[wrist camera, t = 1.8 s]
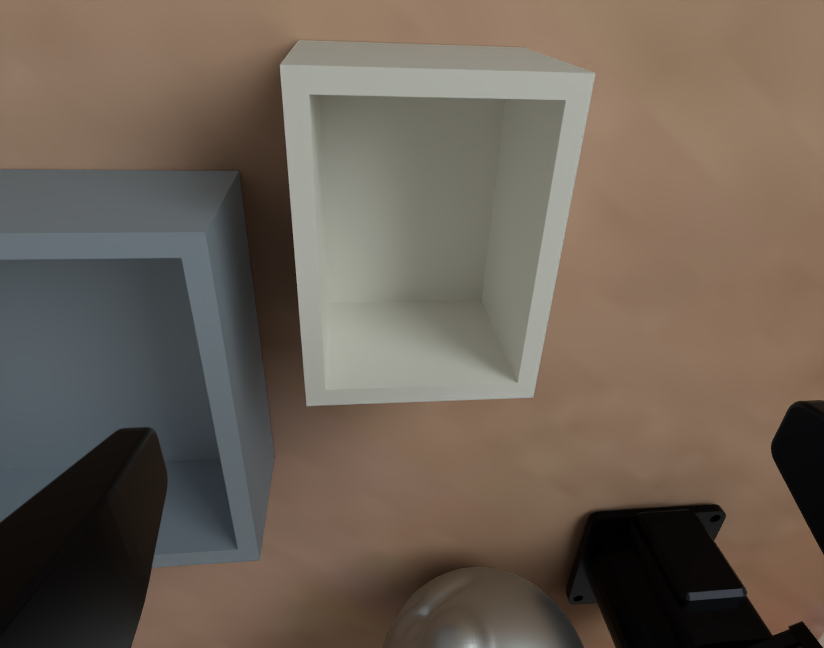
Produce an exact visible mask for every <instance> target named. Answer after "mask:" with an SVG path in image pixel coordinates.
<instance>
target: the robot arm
mask: <svg viewBox="0 0 824 648" xmlns="http://www.w3.org/2000/svg"><path fill="white" fill-rule="evenodd" d="M771 453H772V457H773V459H774V461H775V463H776V465H777V467H778V469H779V471H780V473H781V475H782V477H783V479H784V481H785V483H786V484H787V486H788V488H789V490H790V492H791V494H792V496H793V498H794V500H795V502H796V504H797V505H798V507H799V509H800V511H801V513H802V515H803V517H804V519H805V521H806V523H807V525H808V526H809V528H810V530H811V532H812V534H813V536H814V538H815V540H816V542H817V543H818V545H819V547H820V549H821V551H822V552H823V554H824V401H822V400H812V401H798V402H795V403H794V404H792V405H791V406H790V407H789V409H788V410H787V412H786V414H785V416H784V418H783V420H782V422H781V424H780V426H779V428H778V430H777V432H776V434H775V436H774V438H773V441H772V444H771ZM167 486H168V475H167V469H166V465H165V462H164V458H163V454H162V450H161V447H160V443H159V439H158V436H157V433H156V432H155V430H154V429H153V428H150V427H131V428H121V429H118V430H117V431H115V432H114V433H112V434H111V435H110V436H109V437H107V438H106V439H105V440H104V441H102V442H101V443H100V444H98V445H97V446H96V447H95V448H93V449H92V450H91V451H90V452H88V453H87V454H86V455H85V456H83V457H82V458H81V459H79V460H78V461H77V462H76V463H74V464H73V465H72V466H71V467H69V468H68V469H67V470H66V471H64V472H63V473H62V474H60V475H59V476H58V477H57V478H55V479H54V480H53V481H52V482H50V483H49V484H48V485H47V486H45V487H44V488H43V489H41V490H40V491H39V492H38V493H36V494H35V495H34V496H33V497H31V498H30V499H29V500H28V501H26V502H25V503H24V504H22V505H21V506H20V507H19V508H17V509H16V510H15V511H14V512H12V513H11V514H10V515H9V516H7V517H6V518H5V519H3V520H2V521H1V522H0V648H131V645H132V642H133V639H134V636H135V633H136V630H137V626H138V623H139V620H140V616H141V613H142V609H143V606H144V602H145V598H146V593H147V589H148V584H149V579H150V574H151V569H152V564H153V559H154V554H155V549H156V544H157V539H158V534H159V529H160V524H161V518H162V513H163V508H164V503H165V498H166V493H167ZM725 517H726V514H725V512H724V511H723V510H722V508H721V507H720V506H719V505H716V504H711V505H695V506H679V507H663V508H647V509H631V510H615V511H600V512H596V513H594V514H592V515H591V516H590V517H589V518H588V520H587V524H586V527H585V530H584V534H583V537H582V540H581V544H580V547H579V550H578V554H577V557H576V560H575V564H574V567H573V570H572V574H571V577H570V580H569V584H568V587H567V590H566V595H567V598H568V601H569V602H570V603H571V604H588V603H598V606H599V608H600V610H601V613H602V615H603V618H604V620H605V623H606V625H607V628H608V630H609V632H610V635H611V637H612V640H613V642H614V645H615V647H616V648H823V647H822V646H821V645H820V643H819V642H818V641H817V639H816V638H815V637H814V636H813V634H812V633H811V632H810V630H809V629H808V628H807V627H806V625H805V624H804V623H803V622H802V621H801V622H799V623H796V624H794V625H791V626H788V627H789V630H786V631H784V632H781V633H779V634H776V635H772V634H771V632H770V631H769V629H768V628H767V626H766V625H765V623H764V622H763V620H762V619H761V617H760V616H759V614H758V613H757V611H756V609H755V608H754V606H753V605H752V603H751V602H750V600H749V599H748V597H747V596H746V594H747V591H746V588H745V587H744V585H743V584H742V582H741V581H740V579H739V578H738V576H737V575H736V573H735V572H734V570H733V569H732V567H731V566H730V564H729V563H728V561H727V560H726V558H725V557H724V555H723V554H722V552H721V551H720V549H719V548H718V546H717V545H716V543H715V542H714V540H715V538H716V536H717V534H718V532H719V530H720V528H721V526H722V524H723V522H724V520H725Z"/></svg>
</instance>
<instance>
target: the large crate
mask: <svg viewBox="0 0 824 648" xmlns="http://www.w3.org/2000/svg"><path fill="white" fill-rule="evenodd" d="M131 427H150V428H153V429H154V430H155V432H156V433H157V436H158V439H159V443H160V447H161V450H162V454H163V458H164V462H165V465H166V469H167V475H168V486H167V493H166V498H165V503H164V508H163V513H162V518H161V524H160V529H159V534H158V539H157V544H156V549H155V554H154V559H153V564H152V568H154V567H168V566H183V565H198V564H213V563H228V562H243V561H258V560H260V554H261V547H262V540H263V533H264V526H265V520H266V513H267V506H268V499H269V492H270V485H271V478H272V471H273V464H274V457H275V456H274V448H273V440H272V432H271V424H270V416H269V408H268V400H267V392H266V384H265V376H264V368H263V360H262V352H261V344H260V336H259V328H258V320H257V311H256V303H255V295H254V287H253V279H252V271H251V263H250V255H249V247H248V239H247V231H246V223H245V215H244V207H243V199H242V191H241V183H240V175H239V171H176V170H34V169H0V522H1V521H2V520H3V519H5V518H6V517H7V516H9V515H10V514H11V513H12V512H14V511H15V510H16V509H17V508H19V507H20V506H21V505H22V504H24V503H25V502H26V501H28V500H29V499H30V498H31V497H33V496H34V495H35V494H36V493H38V492H39V491H40V490H41V489H43V488H44V487H45V486H47V485H48V484H49V483H50V482H52V481H53V480H54V479H55V478H57V477H58V476H59V475H60V474H62V473H63V472H64V471H66V470H67V469H68V468H69V467H71V466H72V465H73V464H74V463H76V462H77V461H78V460H79V459H81V458H82V457H83V456H85V455H86V454H87V453H88V452H90V451H91V450H92V449H93V448H95V447H96V446H97V445H98V444H100V443H101V442H102V441H104V440H105V439H106V438H107V437H109V436H110V435H111V434H112V433H114V432H115V431H117V430H118V429H121V428H131Z"/></svg>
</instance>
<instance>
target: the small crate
mask: <svg viewBox="0 0 824 648" xmlns="http://www.w3.org/2000/svg"><path fill="white" fill-rule="evenodd" d="M280 75H281V87H282V100H283V113H284V126H285V138H286V151H287V164H288V177H289V189H290V202H291V215H292V228H293V240H294V253H295V266H296V279H297V291H298V304H299V317H300V330H301V342H302V355H303V368H304V381H305V393H306V406H321V405H347V404H373V403H400V402H426V401H452V400H478V399H504V398H530V397H533V396H534V391H535V386H536V381H537V375H538V370H539V365H540V360H541V355H542V349H543V344H544V339H545V334H546V328H547V323H548V318H549V313H550V308H551V302H552V297H553V292H554V287H555V282H556V276H557V271H558V266H559V261H560V256H561V250H562V245H563V240H564V235H565V230H566V224H567V219H568V214H569V209H570V203H571V198H572V193H573V188H574V183H575V177H576V172H577V167H578V162H579V157H580V151H581V146H582V141H583V136H584V131H585V125H586V120H587V115H588V110H589V105H590V99H591V94H592V89H593V84H594V78H595V73H593V72H591V71H588V70H585V69H582V68H580V67H577V66H574V65H571V64H569V63H566V62H563V61H560V60H558V59H555V58H552V57H549V56H547V55H544V54H541V53H538V52H536V51H533V50H530V49H527V48H525V47H495V46H464V45H433V44H402V43H371V42H340V41H310V40H298V41H297V43H296V44H295V45H294V47H293V48H292V49H291V50H290V52H289V53H288V54H287V56H286V57H285V58H284V60H283V61H282V62H281V64H280Z"/></svg>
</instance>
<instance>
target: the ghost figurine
mask: <svg viewBox="0 0 824 648" xmlns="http://www.w3.org/2000/svg"><path fill="white" fill-rule="evenodd" d="M382 648H584V647H583V644H582V642H581V640H580V638H579V636H578V634H577V632H576V630H575V628H574V627H573V625H572V623H571V622H570V620H569V619H568V617H567V616H566V615H565V613H564V612H563V611H562V609H561V608H560V607H559V606H558V605H557V604H556V603H555V602H554V601H553V600H552V599H551V598H550V597H549V596H548V595H547V594H546V593H545V592H544V591H542V590H541V589H540V588H538V587H537V586H536V585H534V584H533V583H531V582H529V581H528V580H526V579H524V578H522V577H520V576H518V575H516V574H513V573H511V572H508V571H504V570H500V569H496V568H489V567H467V568H461V569H456V570H453V571H450V572H447V573H444V574H442V575H440V576H438V577H436V578H434V579H432V580H430V581H429V582H427V583H426V584H425V585H423V586H422V587H421V588H419V589H418V590H417V591H416V592H415V593H414V594H413V595H412V596H411V597H410V598H409V599H408V600H407V601H406V603H405V604H404V605H403V606H402V608H401V609H400V611H399V612H398V614H397V615H396V617H395V619H394V620H393V622H392V624H391V626H390V628H389V631H388V633H387V635H386V638H385V641H384V644H383V647H382Z"/></svg>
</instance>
